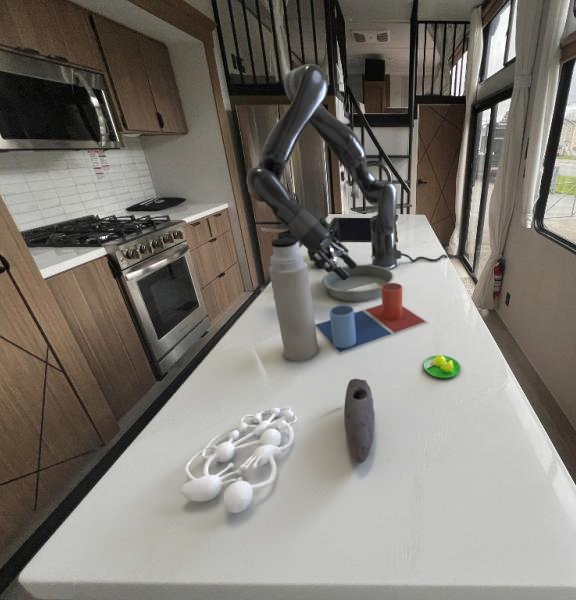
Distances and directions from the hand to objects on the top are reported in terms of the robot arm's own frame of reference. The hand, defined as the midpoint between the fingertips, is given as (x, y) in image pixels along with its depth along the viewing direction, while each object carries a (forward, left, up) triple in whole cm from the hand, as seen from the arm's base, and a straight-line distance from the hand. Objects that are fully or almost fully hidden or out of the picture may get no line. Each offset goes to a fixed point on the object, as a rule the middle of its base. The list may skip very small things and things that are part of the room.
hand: (350, 272), depth 92 cm
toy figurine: (-11, -49, -13) cm, 52 cm away
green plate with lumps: (-4, +35, -13) cm, 38 cm away
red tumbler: (-8, +8, -13) cm, 17 cm away
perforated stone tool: (+20, +41, -13) cm, 47 cm away
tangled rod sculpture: (+38, +35, -13) cm, 53 cm away
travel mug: (+8, -29, -13) cm, 33 cm away
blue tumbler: (+10, +13, -13) cm, 21 cm away
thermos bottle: (+20, +11, -13) cm, 26 cm away
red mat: (-9, +9, -13) cm, 18 cm away
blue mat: (+5, +9, -13) cm, 16 cm away
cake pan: (-10, -15, -13) cm, 22 cm away
